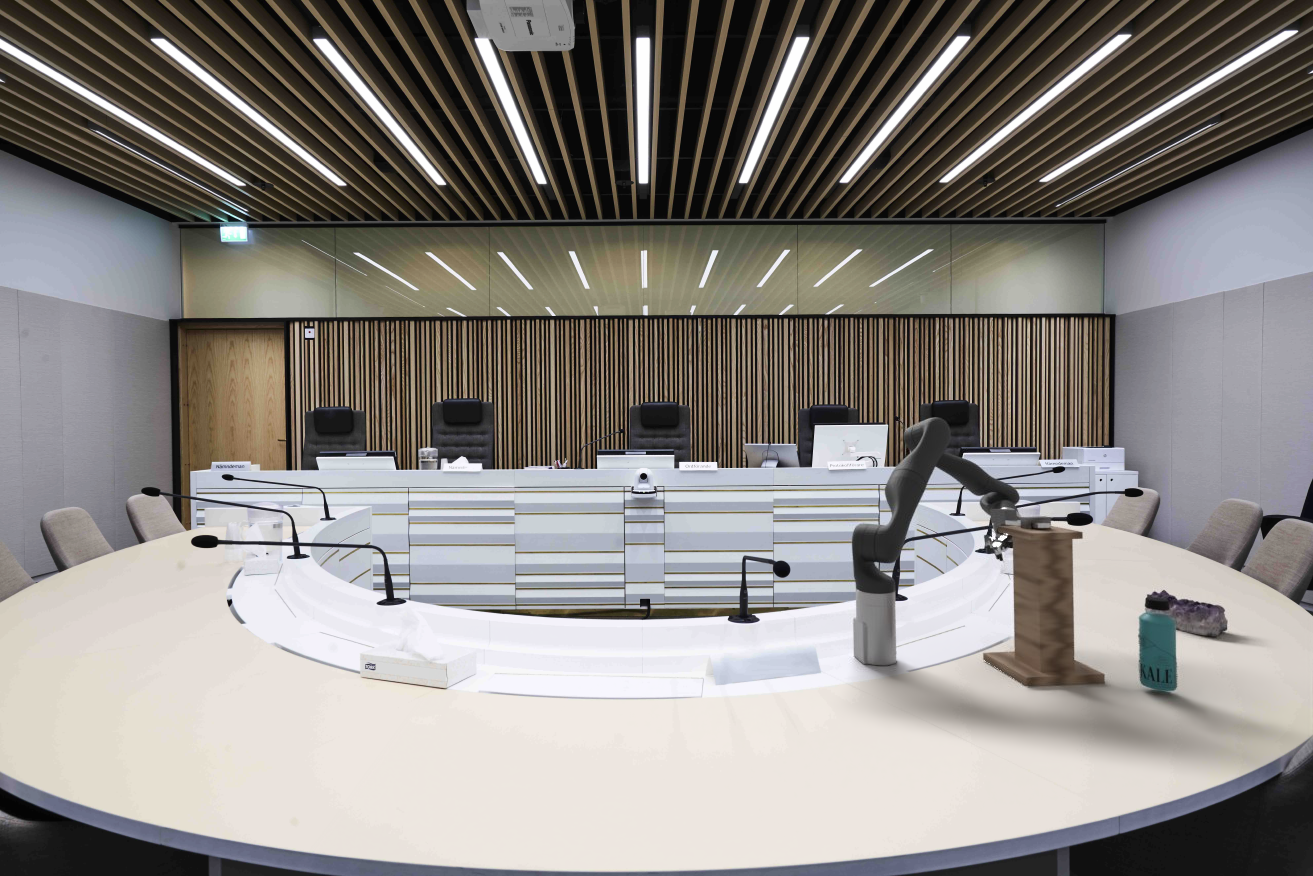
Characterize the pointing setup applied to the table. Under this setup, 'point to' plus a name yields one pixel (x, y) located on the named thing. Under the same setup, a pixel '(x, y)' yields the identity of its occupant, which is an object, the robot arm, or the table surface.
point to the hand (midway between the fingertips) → (1020, 556)
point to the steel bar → (1011, 518)
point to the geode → (1193, 615)
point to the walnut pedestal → (1043, 609)
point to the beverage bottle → (1157, 647)
